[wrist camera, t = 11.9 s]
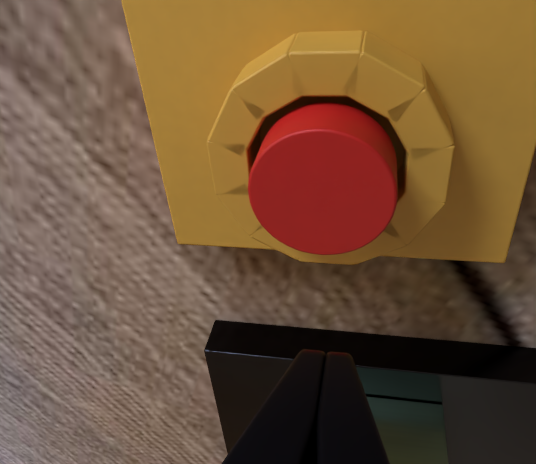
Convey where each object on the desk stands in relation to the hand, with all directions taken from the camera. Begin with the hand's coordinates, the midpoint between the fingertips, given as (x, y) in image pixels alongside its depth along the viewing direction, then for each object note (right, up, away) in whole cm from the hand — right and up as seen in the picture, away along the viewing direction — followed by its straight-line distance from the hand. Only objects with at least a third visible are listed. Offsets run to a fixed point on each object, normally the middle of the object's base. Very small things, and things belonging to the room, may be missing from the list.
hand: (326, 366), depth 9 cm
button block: (+1, +6, +9) cm, 11 cm away
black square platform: (+5, -8, +20) cm, 22 cm away
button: (+1, +4, +6) cm, 8 cm away
